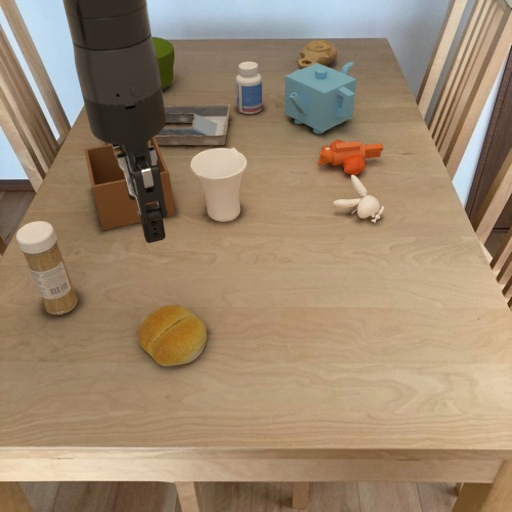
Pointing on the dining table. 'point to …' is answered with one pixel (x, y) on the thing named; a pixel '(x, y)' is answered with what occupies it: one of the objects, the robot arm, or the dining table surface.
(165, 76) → the green piece
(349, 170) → the orange toy bird
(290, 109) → the teapot
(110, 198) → the box
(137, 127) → the robot arm
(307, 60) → the oil lamp
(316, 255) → the dining table surface
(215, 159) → the cup
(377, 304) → the dining table surface
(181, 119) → the grey flat rectangular tray
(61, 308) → the sprinkles bottle
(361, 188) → the rabbit figurine
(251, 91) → the pill bottle
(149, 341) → the bread roll
